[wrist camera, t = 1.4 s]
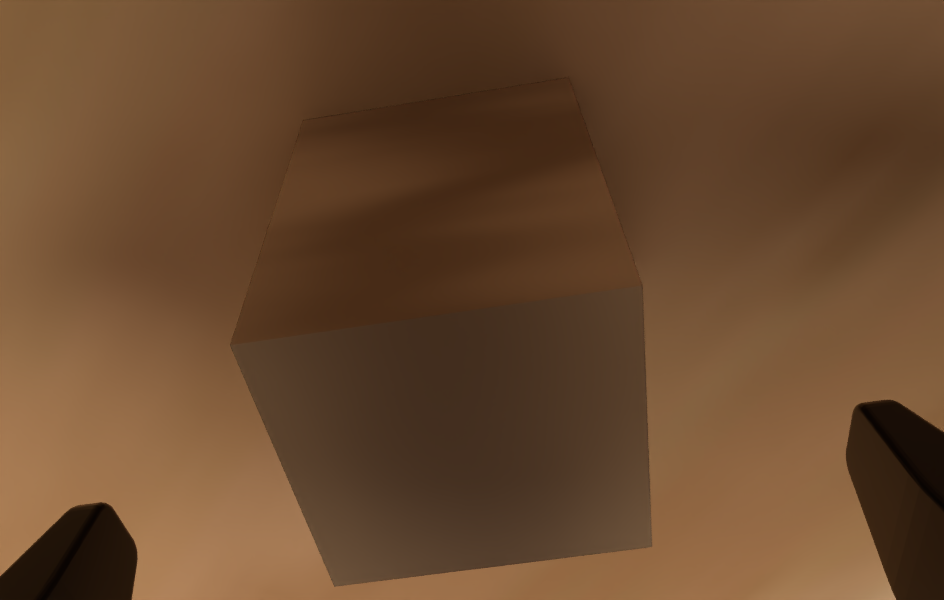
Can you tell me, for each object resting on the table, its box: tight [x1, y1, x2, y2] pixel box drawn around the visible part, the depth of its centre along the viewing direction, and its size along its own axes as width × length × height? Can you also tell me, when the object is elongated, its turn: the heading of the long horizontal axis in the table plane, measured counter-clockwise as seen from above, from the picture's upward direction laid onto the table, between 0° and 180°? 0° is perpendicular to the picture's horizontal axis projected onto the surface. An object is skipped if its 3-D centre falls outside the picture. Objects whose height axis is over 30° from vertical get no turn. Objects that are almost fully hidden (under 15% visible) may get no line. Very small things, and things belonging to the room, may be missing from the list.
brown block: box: [230, 77, 652, 587], centre depth 12 cm, size 4×4×6 cm
